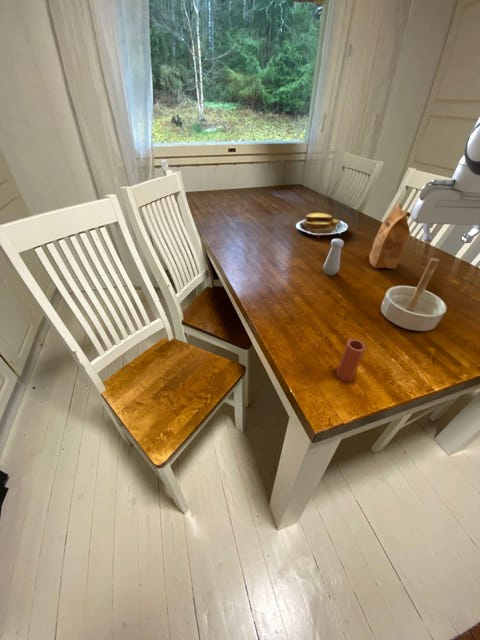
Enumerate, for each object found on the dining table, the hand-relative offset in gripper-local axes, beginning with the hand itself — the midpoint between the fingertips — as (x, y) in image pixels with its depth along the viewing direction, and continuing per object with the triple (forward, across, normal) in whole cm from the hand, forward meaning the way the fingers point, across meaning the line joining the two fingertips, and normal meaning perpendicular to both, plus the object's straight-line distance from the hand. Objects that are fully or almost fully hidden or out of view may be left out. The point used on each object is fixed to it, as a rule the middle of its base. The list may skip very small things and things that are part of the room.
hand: (445, 241), depth 68 cm
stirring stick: (+23, 0, 0) cm, 23 cm away
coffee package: (+24, +3, +36) cm, 43 cm away
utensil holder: (+24, -24, -25) cm, 42 cm away
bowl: (+24, 0, 0) cm, 24 cm away
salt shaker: (+24, -19, +25) cm, 40 cm away
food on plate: (+23, -17, +70) cm, 75 cm away
